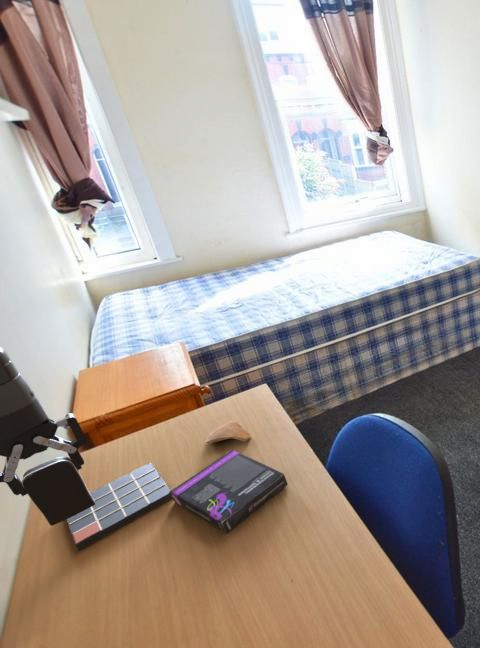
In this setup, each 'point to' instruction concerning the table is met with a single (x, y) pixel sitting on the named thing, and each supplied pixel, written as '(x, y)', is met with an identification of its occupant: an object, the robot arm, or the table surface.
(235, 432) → the pottery shard
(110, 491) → the board
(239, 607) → the table surface
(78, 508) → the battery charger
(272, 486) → the box
